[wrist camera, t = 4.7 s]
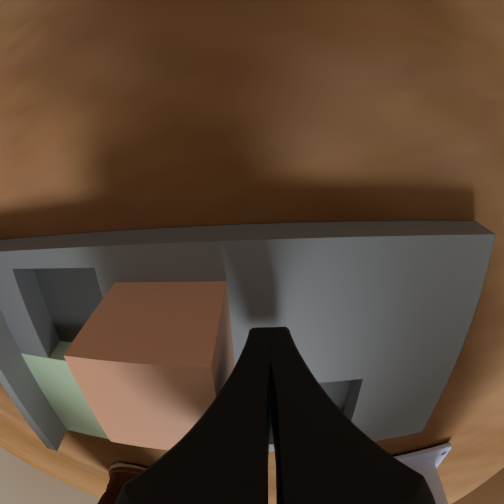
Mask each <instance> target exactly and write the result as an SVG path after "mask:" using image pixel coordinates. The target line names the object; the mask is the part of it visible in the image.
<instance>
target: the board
mask: <svg viewBox="0 0 504 504" xmlns="http://www.w3.org/2000/svg"><path fill="white" fill-rule="evenodd" d="M494 239H495V234H494V233H493V232H491V231H490V230H488V229H487V228H485V227H484V226H482V225H481V224H479V223H478V222H476V221H346V222H300V223H267V224H239V225H215V226H193V227H173V228H154V229H137V230H120V231H105V232H90V233H76V234H62V235H49V236H37V237H25V238H14V239H3V240H0V383H1V384H2V386H3V387H4V389H5V390H6V392H7V394H8V395H9V397H10V398H11V400H12V401H13V403H14V404H15V406H16V407H17V408H18V410H19V411H20V413H21V414H22V416H23V417H24V418H25V420H26V421H27V422H28V424H29V425H30V426H31V428H32V429H33V430H34V432H35V433H36V434H37V436H38V437H39V438H40V439H41V441H42V442H43V443H44V444H45V446H46V447H47V448H50V449H53V450H56V451H57V450H58V448H59V446H60V444H61V441H62V439H63V437H64V435H65V433H66V431H67V430H70V431H74V432H78V433H83V434H87V435H92V436H96V437H101V438H106V439H109V438H108V437H107V435H106V433H105V432H104V430H103V429H102V427H101V425H100V424H99V422H98V420H97V419H96V417H95V415H94V413H93V412H92V410H91V408H90V406H89V405H88V403H87V401H86V399H85V397H84V396H83V394H82V392H81V390H80V388H79V386H78V384H77V382H76V380H75V378H74V376H73V374H72V372H71V370H70V368H69V366H68V364H67V362H66V360H65V358H64V356H63V355H64V354H65V352H66V351H67V349H68V348H69V346H70V345H71V343H72V342H73V340H74V339H75V337H76V336H77V334H78V333H79V332H80V330H81V329H82V327H83V326H84V324H85V323H86V322H87V320H88V319H89V317H90V316H91V315H92V313H93V312H94V310H95V309H96V308H97V306H98V305H99V303H100V302H101V301H102V299H103V298H104V297H105V295H106V294H107V293H108V291H109V290H110V289H111V287H112V286H113V285H114V283H115V282H205V281H227V291H228V301H229V312H230V322H231V332H232V342H233V351H234V361H235V365H236V363H237V361H238V359H239V357H240V355H241V353H242V350H243V348H244V346H245V343H246V340H247V337H248V334H249V330H250V329H252V328H257V327H287V328H288V329H289V330H290V334H291V336H292V339H293V341H294V343H295V345H296V347H297V349H298V351H299V353H300V355H301V356H302V358H303V360H304V361H305V363H306V365H307V366H308V368H309V369H310V371H311V373H312V374H313V376H314V377H315V379H316V380H317V381H318V383H319V384H320V385H321V387H322V388H323V390H324V391H325V392H326V393H327V395H328V396H329V397H330V399H331V400H332V401H333V402H334V403H335V404H336V406H337V407H338V408H339V409H340V410H341V411H342V412H343V413H344V414H345V415H346V416H347V417H348V418H349V420H350V421H351V422H352V423H353V424H354V425H355V426H356V427H358V428H359V429H360V430H361V431H362V432H363V433H364V434H366V435H367V436H368V437H369V438H370V439H371V440H373V441H374V442H375V441H381V440H386V439H391V438H397V437H401V436H406V435H411V434H415V433H419V432H422V431H423V429H424V428H425V426H426V424H427V422H428V420H429V418H430V416H431V415H432V413H433V411H434V409H435V407H436V405H437V403H438V401H439V399H440V397H441V395H442V393H443V390H444V388H445V386H446V384H447V382H448V380H449V377H450V375H451V373H452V371H453V368H454V366H455V364H456V361H457V359H458V356H459V354H460V351H461V349H462V346H463V344H464V341H465V339H466V336H467V333H468V330H469V328H470V325H471V322H472V319H473V316H474V313H475V310H476V307H477V304H478V301H479V297H480V294H481V291H482V287H483V284H484V280H485V276H486V273H487V269H488V265H489V261H490V257H491V252H492V248H493V243H494ZM269 452H275V450H274V442H273V434H272V427H271V431H270V442H269Z"/></svg>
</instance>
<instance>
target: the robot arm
mask: <svg viewBox="0 0 504 504" xmlns="http://www.w3.org/2000/svg"><path fill="white" fill-rule="evenodd" d="M271 427H272V434H273V442H274V450H275V460H276V490H277V504H448V502H447V499H446V496H445V493H444V489H443V486H442V483H441V481H440V478H439V475H438V472H437V469H436V468H437V467H438V465H439V464H440V463H441V461H442V460H443V459H444V457H445V456H446V455H447V453H448V452H449V451H450V449H451V447H452V446H451V444H450V443H446V444H442V445H439V446H435V447H432V448H428V449H424V450H420V451H416V452H412V453H408V454H404V455H399V456H395V457H393V456H392V455H390V454H389V453H388V452H386V451H385V450H384V449H382V448H381V447H380V446H378V445H377V444H376V443H375V442H374V441H373V440H371V439H370V438H369V437H368V436H367V435H366V434H364V433H363V432H362V431H361V430H360V429H359V428H358V427H356V426H355V425H354V424H353V423H352V422H351V421H350V420H349V418H348V417H347V416H346V415H345V414H344V413H343V412H342V411H341V410H340V409H339V408H338V407H337V406H336V404H335V403H334V402H333V401H332V400H331V399H330V397H329V396H328V395H327V393H326V392H325V391H324V390H323V388H322V387H321V385H320V384H319V383H318V381H317V380H316V379H315V377H314V376H313V374H312V373H311V371H310V369H309V368H308V366H307V365H306V363H305V361H304V360H303V358H302V356H301V355H300V353H299V351H298V349H297V347H296V345H295V343H294V341H293V339H292V336H291V334H290V330H289V329H288V328H287V327H257V328H252V329H250V330H249V334H248V337H247V340H246V343H245V346H244V348H243V350H242V353H241V355H240V357H239V359H238V361H237V363H236V365H235V367H234V369H233V371H232V373H231V374H230V376H229V378H228V379H227V381H226V383H225V384H224V386H223V388H222V389H221V391H220V392H219V394H218V395H217V397H216V398H215V400H214V401H213V402H212V404H211V405H210V407H209V408H208V409H207V410H206V412H205V413H204V414H203V415H202V417H201V418H200V419H199V420H198V421H197V422H196V424H195V425H194V426H193V427H192V428H191V429H190V430H189V431H188V432H187V434H186V435H185V436H184V437H183V438H182V439H181V440H180V441H179V442H178V443H176V444H175V445H174V446H173V447H172V448H171V449H170V450H169V451H168V452H166V453H165V454H164V455H163V456H162V457H161V458H160V459H159V460H157V461H156V462H155V463H154V464H152V465H151V466H150V467H148V468H147V469H146V470H144V471H143V472H141V473H140V474H139V475H137V476H136V477H134V478H133V479H131V480H130V481H129V482H127V483H126V484H124V485H123V487H122V489H121V491H120V493H119V495H118V497H117V500H116V502H115V504H268V453H269V442H270V431H271Z"/></svg>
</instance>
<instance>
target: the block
mask: <svg viewBox="0 0 504 504" xmlns="http://www.w3.org/2000/svg"><path fill="white" fill-rule="evenodd" d="M63 356H64V358H65V360H66V362H67V364H68V366H69V368H70V370H71V372H72V374H73V376H74V378H75V380H76V382H77V384H78V386H79V388H80V390H81V392H82V394H83V396H84V397H85V399H86V401H87V403H88V405H89V406H90V408H91V410H92V412H93V413H94V415H95V417H96V419H97V420H98V422H99V424H100V425H101V427H102V429H103V430H104V432H105V433H106V435H107V437H108V438H109V440H110V441H111V442H116V443H122V444H127V445H134V446H140V447H147V448H154V449H162V450H170V449H171V448H172V447H173V446H174V445H175V444H176V443H178V442H179V441H180V440H181V439H182V438H183V437H184V436H185V435H186V434H187V432H188V431H189V430H190V429H191V428H192V427H193V426H194V425H195V424H196V422H197V421H198V420H199V419H200V418H201V417H202V415H203V414H204V413H205V412H206V410H207V409H208V408H209V407H210V405H211V404H212V402H213V401H214V400H215V398H216V397H217V395H218V394H219V392H220V391H221V389H222V388H223V386H224V384H225V383H226V381H227V379H228V378H229V376H230V374H231V373H232V371H233V369H234V367H235V361H234V351H233V342H232V332H231V322H230V312H229V301H228V291H227V281H205V282H115V283H114V285H113V286H112V287H111V289H110V290H109V291H108V293H107V294H106V295H105V297H104V298H103V299H102V301H101V302H100V303H99V305H98V306H97V308H96V309H95V310H94V312H93V313H92V315H91V316H90V317H89V319H88V320H87V322H86V323H85V324H84V326H83V327H82V329H81V330H80V332H79V333H78V334H77V336H76V337H75V339H74V340H73V342H72V343H71V345H70V346H69V348H68V349H67V351H66V352H65V354H64V355H63Z"/></svg>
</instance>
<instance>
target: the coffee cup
mask: <svg viewBox="0 0 504 504" xmlns="http://www.w3.org/2000/svg"><path fill="white" fill-rule="evenodd" d="M146 469H147V468H143V467H139V466H136V465H130V464H124V463H116V464H114V465H113V464H112V465H111V467H110V469H109V477H110V480H109V483H108V485H107V489H106V492H105V493H104V494H103V495H102V497H101V499H100V501H99V502H98V504H115V502H116V500H117V497H118V495H119V493H120V491H121V489H122V487H123V485H124V484H126V483H127V482H129V481H130V480H131V479H133V478H134V477H136V476H137V475H139V474H140V473H141V472H143V471H144V470H146Z"/></svg>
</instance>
